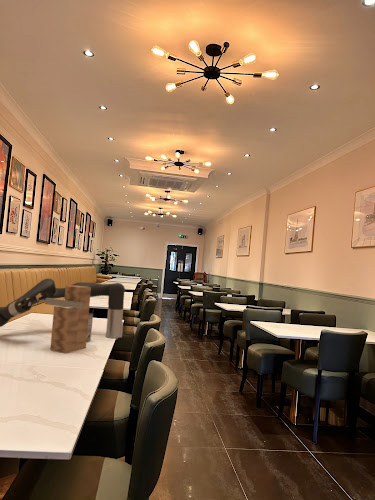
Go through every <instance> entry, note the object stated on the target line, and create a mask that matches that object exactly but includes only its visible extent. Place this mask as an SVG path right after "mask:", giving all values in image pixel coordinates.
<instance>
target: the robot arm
mask: <svg viewBox="0 0 375 500" xmlns="http://www.w3.org/2000/svg"><path fill="white" fill-rule="evenodd" d="M70 286H85V287H91V293H90V298H94V297H102V296H105V297H106V296H107V297H108V302H107V303H108V304H107V305H108V306H107V319H106V330H105V331H106V332H105V337H106V338H110V339H120V338H122V337H123V330H124V322H123V318H124V317H123V316H124V303H125V302H124V300H125V293H126V288H125V286H124V284H122V283H121V282H114V283H97V282H96V283H95V282H84V281H83V282H80V281H79V282H75V283H73V284H71V285H70ZM65 288H66V287H62V288H61V287H58V288H57V287H56V283H55V281H54V279H52V278H45V279H41V281H39V282H38V283H37V284H36V285H34V286H33V287H31V289H29V290H27V291H26V293H24V294H23V295H21V296H20V297H18V298H16V299H15V300H13V301H11V302H9V303H8V304H7V305H6V306H0V328H2V327H4V326H5V325H6V324H7V323H8V322H9V321H10V320H11V319H12V318H14V317H17V316H20V315H22V314H24V313H26V312H28V311H30V310H31V309H32V306H34V305H37V304H40V303H42V302H45V298H54V299H61V298H65ZM38 295H40V296H38Z"/></svg>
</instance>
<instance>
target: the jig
mask: <svg viewBox="0 0 375 500" xmlns="http://www.w3.org/2000/svg"><path fill="white" fill-rule="evenodd" d="M64 288H65V297H64V299H63V300H70V301H78V302H83V308H80V309H77V308H70V307H63V306H56V305H53V306H54V307H53V316H52V327H51V336H50V337H51V339H50V348H49V349H50V351H51V352H52V351H53V352H57V353H62V354H69V353H72V352H76V351H79V350H84V349H86V348H87V342H86V340H87V329H88V317H89V313H90V304H91V303H90V302H91V297H90V293H91V287H85V286H71V285H65V287H64Z"/></svg>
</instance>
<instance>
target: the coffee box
mask: <svg viewBox="0 0 375 500" xmlns="http://www.w3.org/2000/svg"><path fill="white" fill-rule="evenodd" d="M93 317H94V313H92V312H91V313H90V312H89V317H88V329H87V340H86V343H90V342H91V340H92V339H91V338H92V330H93V329H92V328H93V322H94V321H93Z"/></svg>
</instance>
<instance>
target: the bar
mask: <svg viewBox="0 0 375 500" xmlns="http://www.w3.org/2000/svg"><path fill="white" fill-rule="evenodd" d="M44 304H45V305H50V306H63V307H70V308H77V309H80V308H83V302H78V301H70V300H64V299H61V298H45V300H44Z"/></svg>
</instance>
